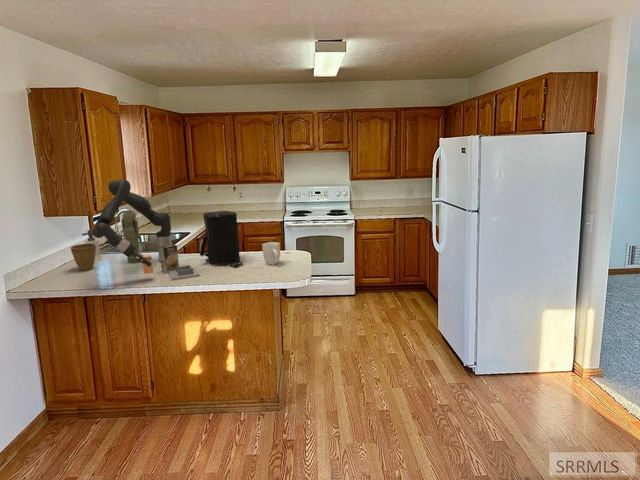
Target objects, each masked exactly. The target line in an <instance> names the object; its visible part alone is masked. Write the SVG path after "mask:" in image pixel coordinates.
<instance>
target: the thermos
mask: <svg viewBox="0 0 640 480" xmlns="http://www.w3.org/2000/svg"><path fill="white" fill-rule="evenodd" d="M121 228H122V232H123V234H124V235H123V236H124V239H126V240H127V241H129V242H130V243H132V244H133V245H135V246H136V250H137V251H139V252H140V253H141V254H142V252H141V250H140V244H139V233H140V230H139V221H138V219H137V218H136V216H135V213H134V212H133V211H132V210H128V211H124V212H123V214H122V219H121ZM136 250H135V251H136ZM126 257H127V256H126ZM127 260H128V264H139V263H141V262H140V261H138V260H136V259H135V258H134V257H133V255H131V256H130V257H127Z"/></svg>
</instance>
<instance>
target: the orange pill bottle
mask: <svg viewBox="0 0 640 480" xmlns="http://www.w3.org/2000/svg"><path fill="white" fill-rule="evenodd" d="M143 258H144V259H146V260H147V261H149V262H150V263H151V266H150V267H149V266H147V265H146V264H144V263H142V266H143V267H142V268H143V274H144V275H145V274H153V273H154V267H153V259H152V258H153V257H152V254H151V253H150V254H143ZM142 260H143V259H142Z"/></svg>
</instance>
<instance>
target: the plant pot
mask: <svg viewBox="0 0 640 480" xmlns="http://www.w3.org/2000/svg"><path fill="white" fill-rule="evenodd" d="M70 252H71V254H72V257H73V259H74V262H75V263H76V266H77V267H78V269H79V271H82V272H84V271H85V272H86V271H91V270H93V268H94V265H95V262H94V260H95V252H96V244H85V243H79V244H75V245H72V246H70Z"/></svg>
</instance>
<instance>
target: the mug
mask: <svg viewBox="0 0 640 480" xmlns="http://www.w3.org/2000/svg"><path fill="white" fill-rule="evenodd" d="M262 254H263V258H264V261H265V263H266V264H267V265H269V266H274V265H277V264H278V263H279V261H280V256H281V246H280V242H274V241H269V242H265V243H263V244H262Z"/></svg>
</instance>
